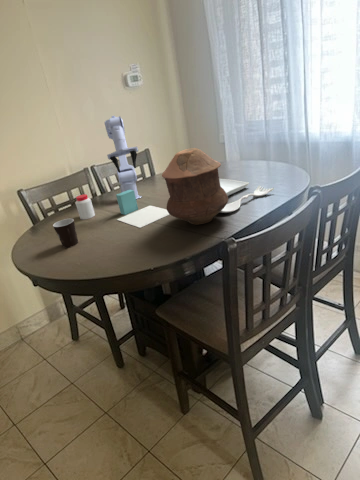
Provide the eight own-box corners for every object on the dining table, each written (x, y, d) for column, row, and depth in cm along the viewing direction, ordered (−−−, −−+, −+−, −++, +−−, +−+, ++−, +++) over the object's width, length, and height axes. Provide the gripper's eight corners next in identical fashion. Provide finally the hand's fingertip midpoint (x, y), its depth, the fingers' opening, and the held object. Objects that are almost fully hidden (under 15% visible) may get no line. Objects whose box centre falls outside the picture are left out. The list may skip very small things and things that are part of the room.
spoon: (275, 193, 161) (274, 186, 160) (227, 217, 145) (226, 210, 144) (259, 191, 168) (259, 184, 167) (212, 214, 152) (211, 206, 150)
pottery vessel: (241, 222, 137) (233, 146, 125) (180, 240, 132) (165, 162, 120) (216, 205, 160) (207, 139, 148) (163, 219, 155) (149, 152, 143)
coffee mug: (62, 241, 151) (55, 220, 147) (82, 238, 151) (75, 217, 147) (56, 253, 141) (48, 231, 137) (77, 249, 141) (70, 227, 137)
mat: (116, 220, 165) (116, 219, 165) (150, 205, 176) (150, 205, 176) (140, 228, 150) (140, 227, 150) (175, 212, 161) (175, 211, 161)
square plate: (214, 206, 160) (212, 198, 158) (175, 199, 180) (174, 192, 178) (250, 188, 175) (250, 181, 173) (211, 183, 195) (210, 176, 193)
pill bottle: (98, 213, 180) (92, 193, 175) (90, 219, 173) (83, 198, 169) (85, 213, 182) (79, 194, 178) (77, 219, 176) (70, 199, 171)
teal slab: (120, 213, 173) (115, 194, 169) (134, 208, 177) (129, 189, 173) (125, 215, 170) (120, 195, 166) (138, 209, 174) (133, 190, 170)
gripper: (102, 143, 160) (109, 171, 159) (133, 135, 159) (140, 163, 158) (107, 148, 167) (114, 175, 166) (136, 140, 166) (143, 167, 165)
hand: (127, 169), depth 162 cm, fingers open, 7 cm apart
